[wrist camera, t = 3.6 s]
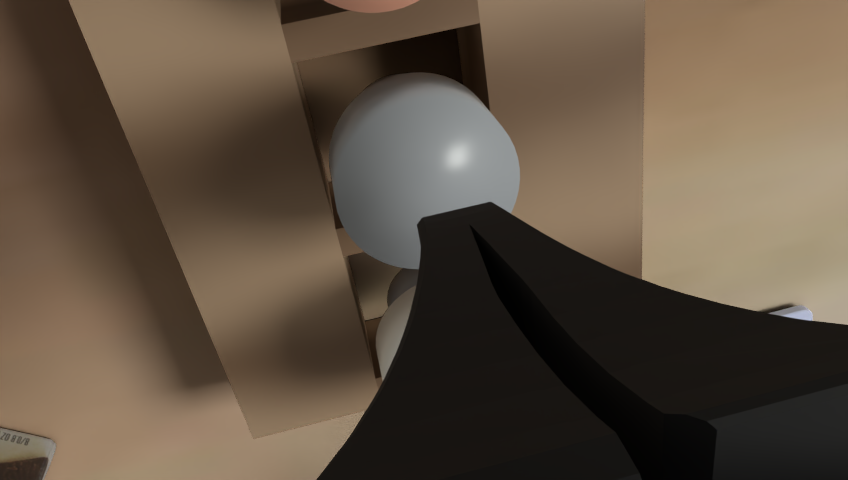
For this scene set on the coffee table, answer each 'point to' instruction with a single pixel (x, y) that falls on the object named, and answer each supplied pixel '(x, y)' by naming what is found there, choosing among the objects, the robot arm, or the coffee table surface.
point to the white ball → (395, 317)
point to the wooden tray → (305, 174)
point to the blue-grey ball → (416, 161)
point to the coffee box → (24, 455)
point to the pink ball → (371, 5)
